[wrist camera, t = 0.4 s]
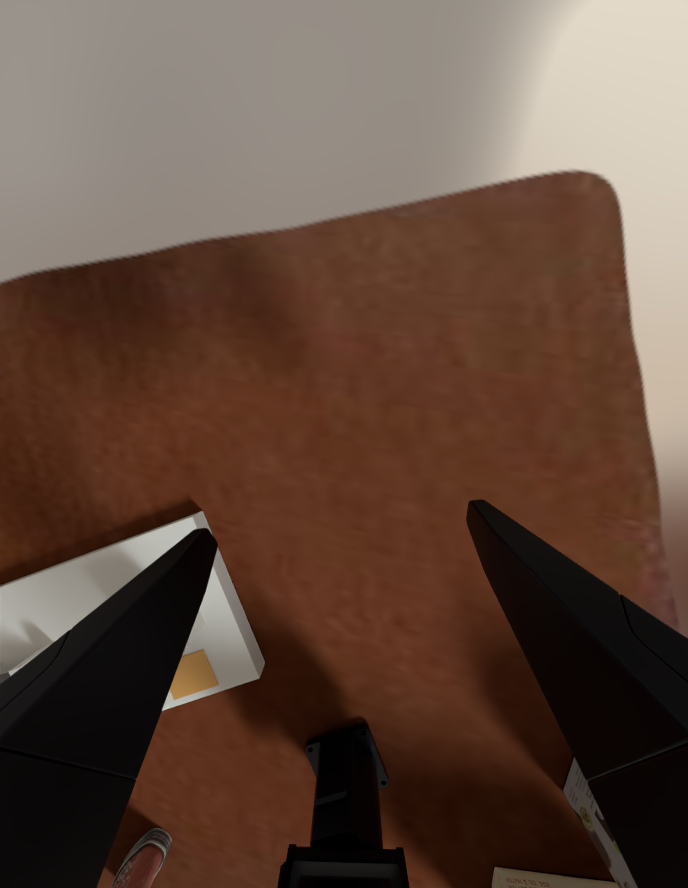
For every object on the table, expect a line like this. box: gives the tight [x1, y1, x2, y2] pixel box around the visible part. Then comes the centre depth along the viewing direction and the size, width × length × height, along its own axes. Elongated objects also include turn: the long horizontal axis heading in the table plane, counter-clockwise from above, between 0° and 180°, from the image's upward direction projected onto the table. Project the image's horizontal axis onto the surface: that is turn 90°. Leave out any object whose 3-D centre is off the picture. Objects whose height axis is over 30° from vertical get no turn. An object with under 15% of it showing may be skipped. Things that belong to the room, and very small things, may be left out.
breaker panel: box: [0, 511, 265, 711], centre depth 19 cm, size 16×24×9 cm, turn 110°
